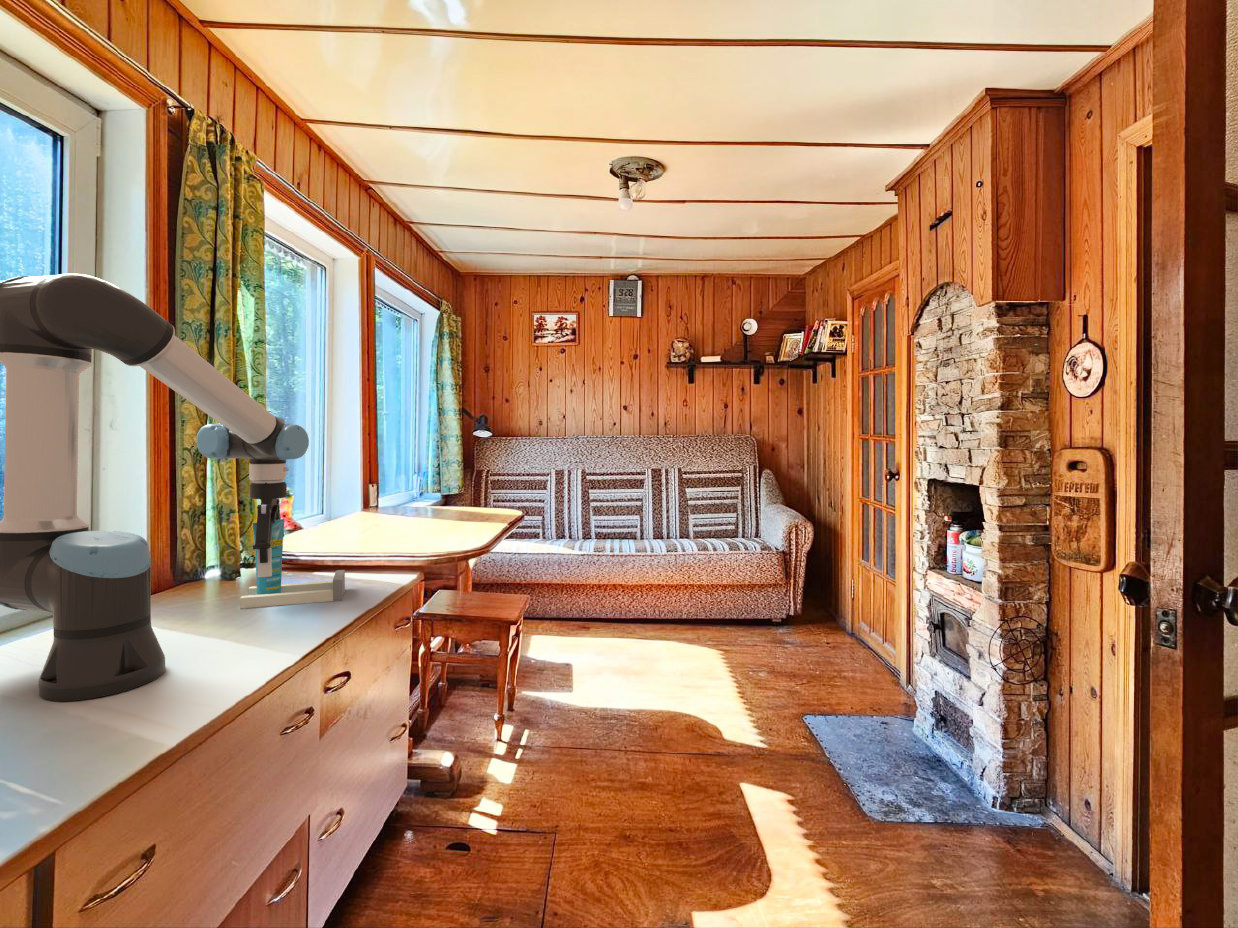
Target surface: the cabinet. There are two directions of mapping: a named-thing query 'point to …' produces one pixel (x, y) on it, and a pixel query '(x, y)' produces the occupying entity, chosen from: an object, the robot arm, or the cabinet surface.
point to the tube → (273, 582)
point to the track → (298, 593)
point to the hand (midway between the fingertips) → (270, 570)
